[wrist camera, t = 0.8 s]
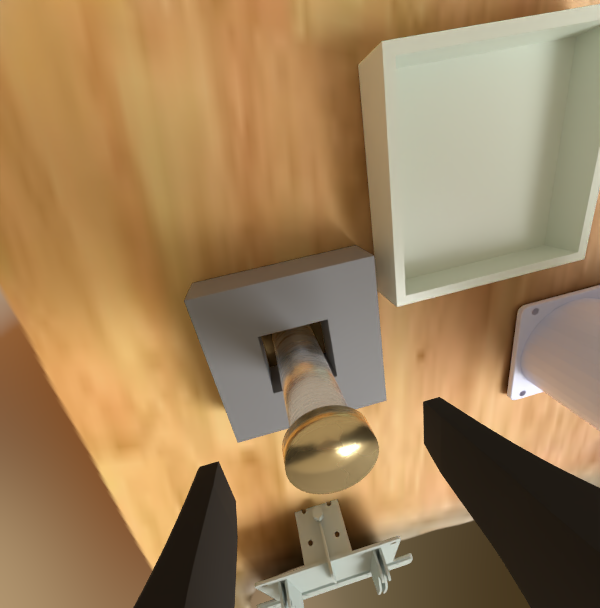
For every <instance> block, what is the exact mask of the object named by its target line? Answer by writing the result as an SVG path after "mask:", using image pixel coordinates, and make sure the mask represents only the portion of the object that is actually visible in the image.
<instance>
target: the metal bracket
mask: <svg viewBox="0 0 600 608" xmlns="http://www.w3.org/2000/svg"><path fill="white" fill-rule="evenodd" d="M330 502H331V505H330V506H328V505H327V502H326V503H323V504H320V505H317V506H314V507H310V508H307V509H306V513H305V514H303V513H302V510H301V511H298V512H295V517H296V522H297V528H298V533H299V538H300V544H301V549H302V555H303V560H304V566H305V567H302V568H299V569H296V570H293V571H290V572H287V573H284V574H281V575H278V576H275V577H272V578H269V579H266V580H263V581H260V582H257V583H255V588H256V589H258V590H260V591H262V592H263V593H265V594H267V595H269V596H271V597H272V598H274V599H273V600H270V601H268V602H264V603H262V604H259V605H257V608H280V607H281V608H304V604H303V600H304V599H307V598H310V597H312V596H316V595H318V594H321V593H324V592H327V591H330V590H333V589H336V588H339V587H342V586H345V585H348V584H351V583H353V582H356V581H359V580H362V579H365V578H368V577H371V576H372V577H373V581H374V584H375V587H376V590H377V593H378V595H380V594H381V591H383V593H385V592H386V590H387V588H388V585H387V579H388V581H391V577H390V573H389V570H392V569H395V568H398V567H400V566H403V565H406V564H409V563H410V562H411V560H412V559H413V558H412V555H411V553H409V554H406V555H403V556H400V557H398V558H394V557H395V554H396V551H397V549H398V546H399V543H400V540H401V538H400V536H396V537H393V538H390V539H387V540H384V541H381V542H378V543H375V544H372V545H369V546H366V547H363V548H360V549H357V550H354V551H352V549H351V545H350V542H349V538H348V535H347V531H346V528H345V524H344V521H343V517H342V514H341V510H340V507H339V503H338V500H337V499H336V500H333V501H330ZM336 532H339V537H336V536H335V533H336ZM310 540H311V541H313V545H312V546H309V544H308V542H309V541H310Z"/></svg>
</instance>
